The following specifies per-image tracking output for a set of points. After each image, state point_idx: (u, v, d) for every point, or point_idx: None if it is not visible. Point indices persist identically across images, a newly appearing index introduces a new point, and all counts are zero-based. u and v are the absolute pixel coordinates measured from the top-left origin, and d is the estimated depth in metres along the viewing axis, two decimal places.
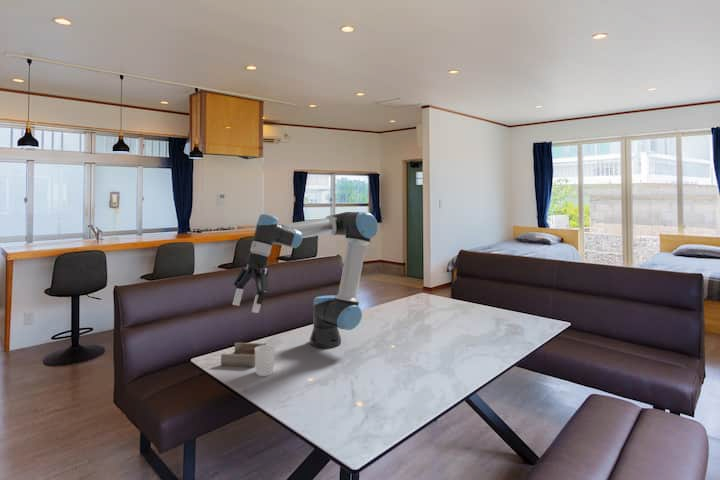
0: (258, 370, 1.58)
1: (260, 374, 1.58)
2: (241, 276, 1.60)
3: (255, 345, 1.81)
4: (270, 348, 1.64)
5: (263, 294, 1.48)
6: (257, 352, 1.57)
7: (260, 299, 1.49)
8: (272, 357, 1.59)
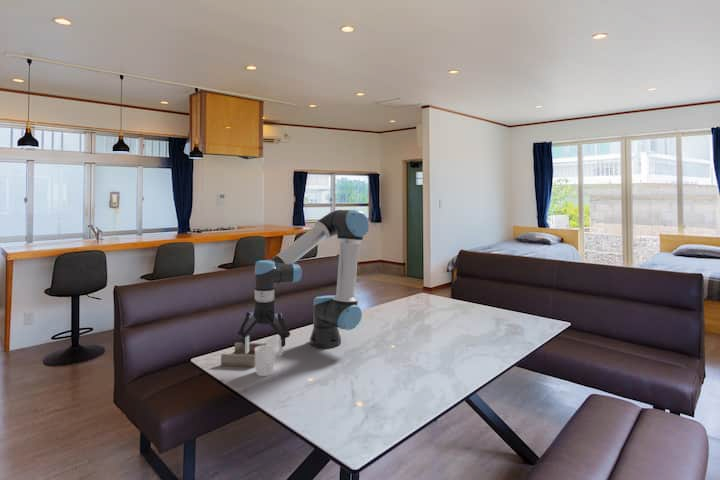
0: (258, 370, 1.58)
1: (260, 374, 1.58)
2: (245, 324, 1.59)
3: (255, 345, 1.81)
4: (270, 348, 1.64)
5: None
6: (257, 352, 1.57)
7: (284, 342, 1.59)
8: (272, 357, 1.59)
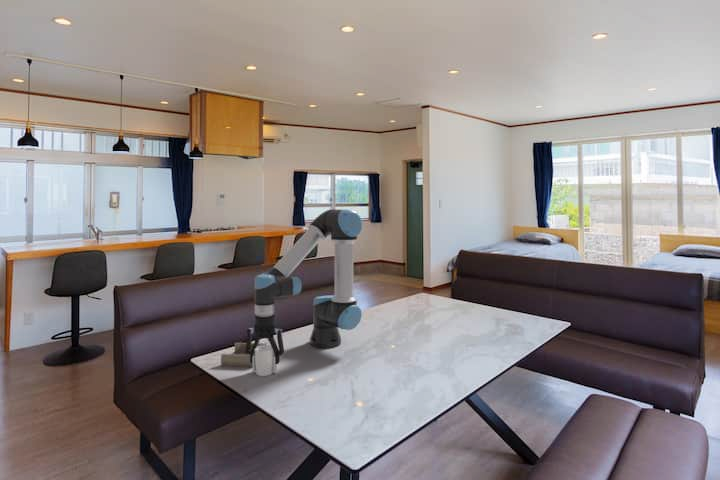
0: (258, 370, 1.58)
1: (260, 374, 1.58)
2: (250, 341, 1.60)
3: None
4: (270, 348, 1.64)
5: None
6: (257, 352, 1.57)
7: (278, 359, 1.60)
8: (272, 357, 1.59)
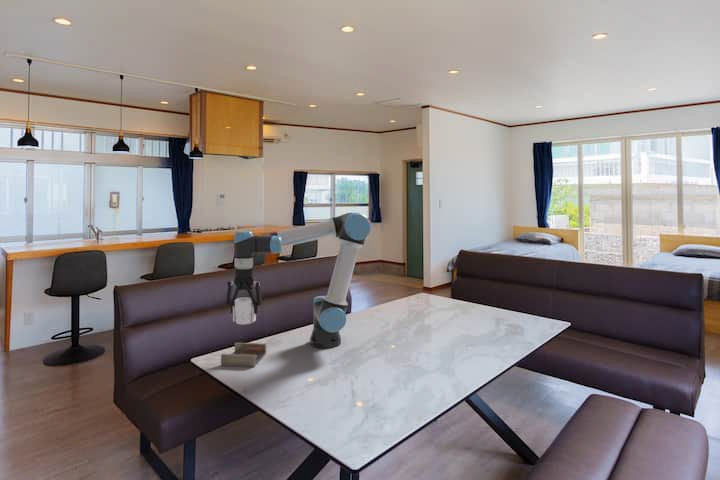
0: (238, 319, 1.71)
1: (239, 323, 1.70)
2: (230, 293, 1.73)
3: (255, 345, 1.81)
4: (249, 300, 1.76)
5: None
6: (237, 302, 1.70)
7: (257, 309, 1.73)
8: (251, 307, 1.71)
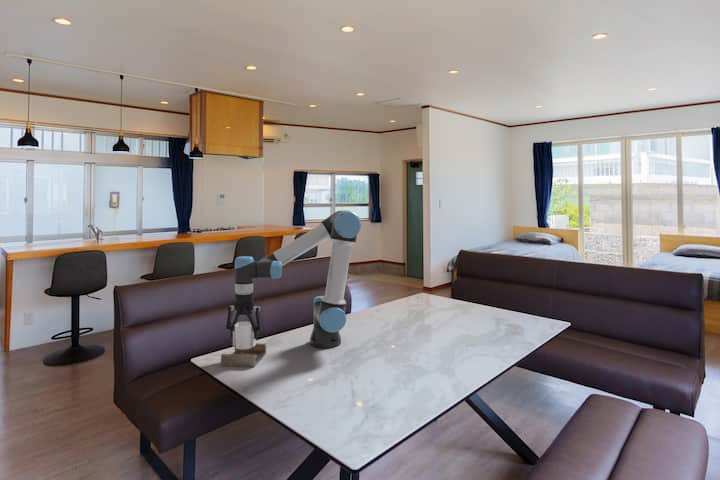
0: (237, 344, 1.71)
1: (239, 348, 1.71)
2: (230, 318, 1.73)
3: (255, 345, 1.81)
4: (249, 324, 1.77)
5: None
6: (237, 327, 1.70)
7: (257, 334, 1.73)
8: (251, 332, 1.72)
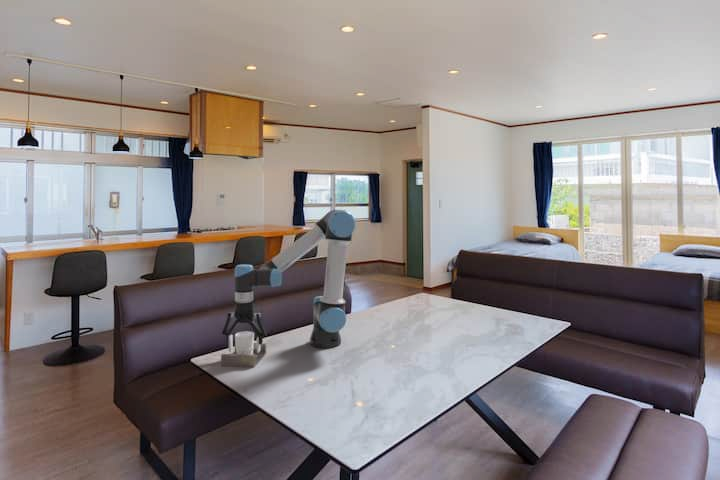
0: (238, 354, 1.72)
1: None
2: (228, 324, 1.74)
3: (255, 345, 1.81)
4: (250, 334, 1.77)
5: (264, 335, 1.73)
6: (237, 337, 1.71)
7: (261, 340, 1.73)
8: (251, 342, 1.73)
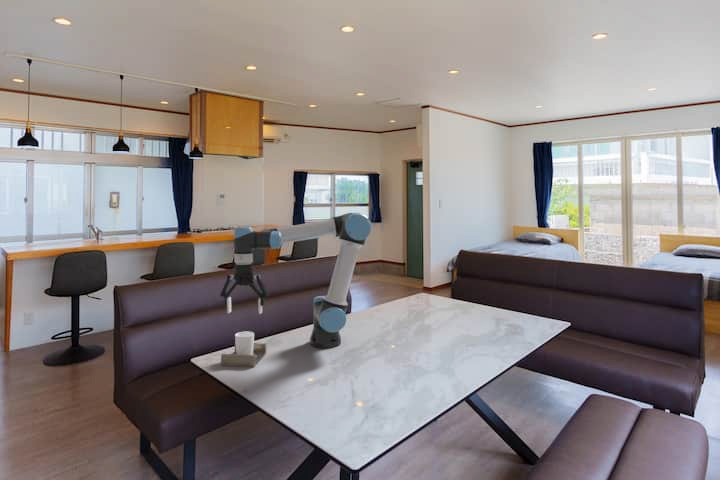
0: (238, 354, 1.72)
1: None
2: (227, 286, 1.73)
3: (255, 345, 1.81)
4: (250, 334, 1.77)
5: (265, 296, 1.72)
6: (237, 337, 1.71)
7: (263, 301, 1.72)
8: (251, 342, 1.73)
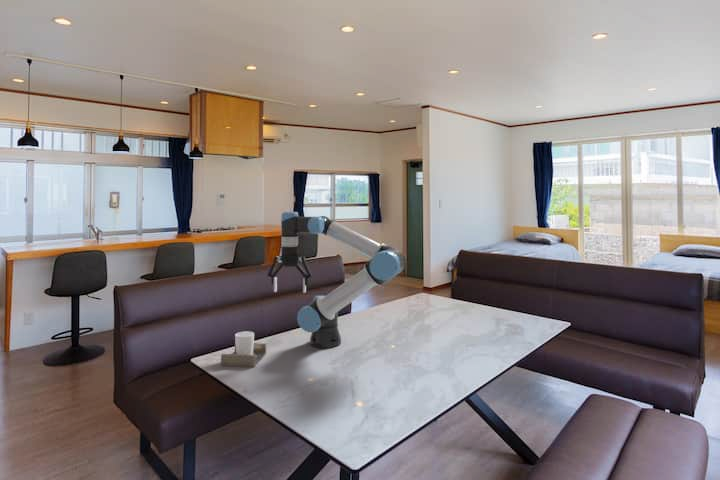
0: (238, 354, 1.72)
1: None
2: (274, 267, 1.86)
3: (255, 345, 1.81)
4: (250, 334, 1.77)
5: None
6: (237, 337, 1.71)
7: (307, 281, 1.85)
8: (251, 342, 1.73)
